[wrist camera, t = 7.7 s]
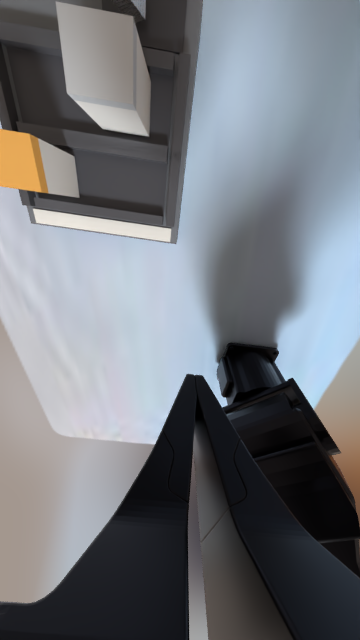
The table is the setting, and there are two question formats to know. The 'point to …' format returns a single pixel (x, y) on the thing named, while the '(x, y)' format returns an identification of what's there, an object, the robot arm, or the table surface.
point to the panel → (87, 136)
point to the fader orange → (36, 165)
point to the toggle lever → (132, 8)
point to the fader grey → (105, 68)
